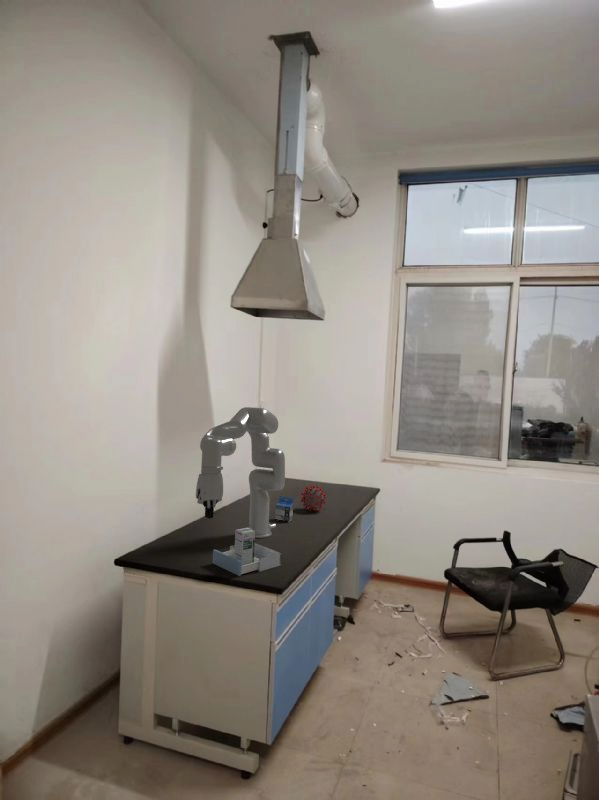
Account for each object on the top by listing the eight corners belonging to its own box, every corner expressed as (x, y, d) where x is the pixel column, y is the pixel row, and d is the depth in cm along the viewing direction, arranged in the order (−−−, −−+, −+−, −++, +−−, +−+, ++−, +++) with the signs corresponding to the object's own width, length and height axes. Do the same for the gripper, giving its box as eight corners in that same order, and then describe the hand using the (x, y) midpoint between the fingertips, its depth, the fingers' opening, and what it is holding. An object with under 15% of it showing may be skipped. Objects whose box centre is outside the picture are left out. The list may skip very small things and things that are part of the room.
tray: (235, 557, 213) (235, 544, 212) (262, 569, 200) (262, 555, 200) (212, 563, 205) (213, 549, 204) (239, 575, 192) (239, 561, 192)
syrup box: (241, 570, 196) (243, 532, 195) (233, 565, 200) (235, 528, 200) (254, 567, 199) (255, 530, 199) (246, 562, 204) (247, 526, 203)
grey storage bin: (250, 552, 220) (250, 541, 220) (280, 565, 206) (281, 553, 206) (229, 558, 212) (229, 546, 212) (259, 571, 198) (260, 559, 198)
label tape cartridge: (274, 519, 274) (275, 497, 274) (278, 518, 277) (279, 495, 277) (289, 522, 270) (290, 499, 269) (292, 521, 273) (293, 498, 273)
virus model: (325, 508, 304) (327, 483, 303) (324, 515, 289) (325, 488, 288) (301, 507, 305) (302, 482, 305) (299, 513, 290) (300, 487, 290)
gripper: (221, 467, 205) (219, 512, 205) (189, 470, 194) (187, 518, 195) (232, 470, 200) (230, 516, 200) (200, 473, 189) (198, 522, 189)
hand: (209, 517), depth 197 cm, fingers closed
